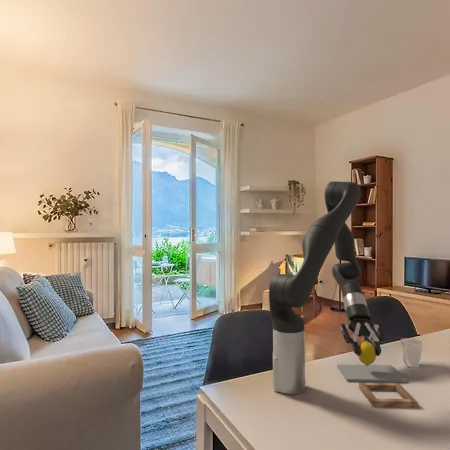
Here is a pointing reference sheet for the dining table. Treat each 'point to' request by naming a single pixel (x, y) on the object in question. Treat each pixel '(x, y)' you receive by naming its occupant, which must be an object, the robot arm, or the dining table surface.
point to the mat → (371, 373)
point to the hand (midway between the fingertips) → (368, 354)
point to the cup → (411, 351)
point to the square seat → (379, 402)
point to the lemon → (367, 353)
